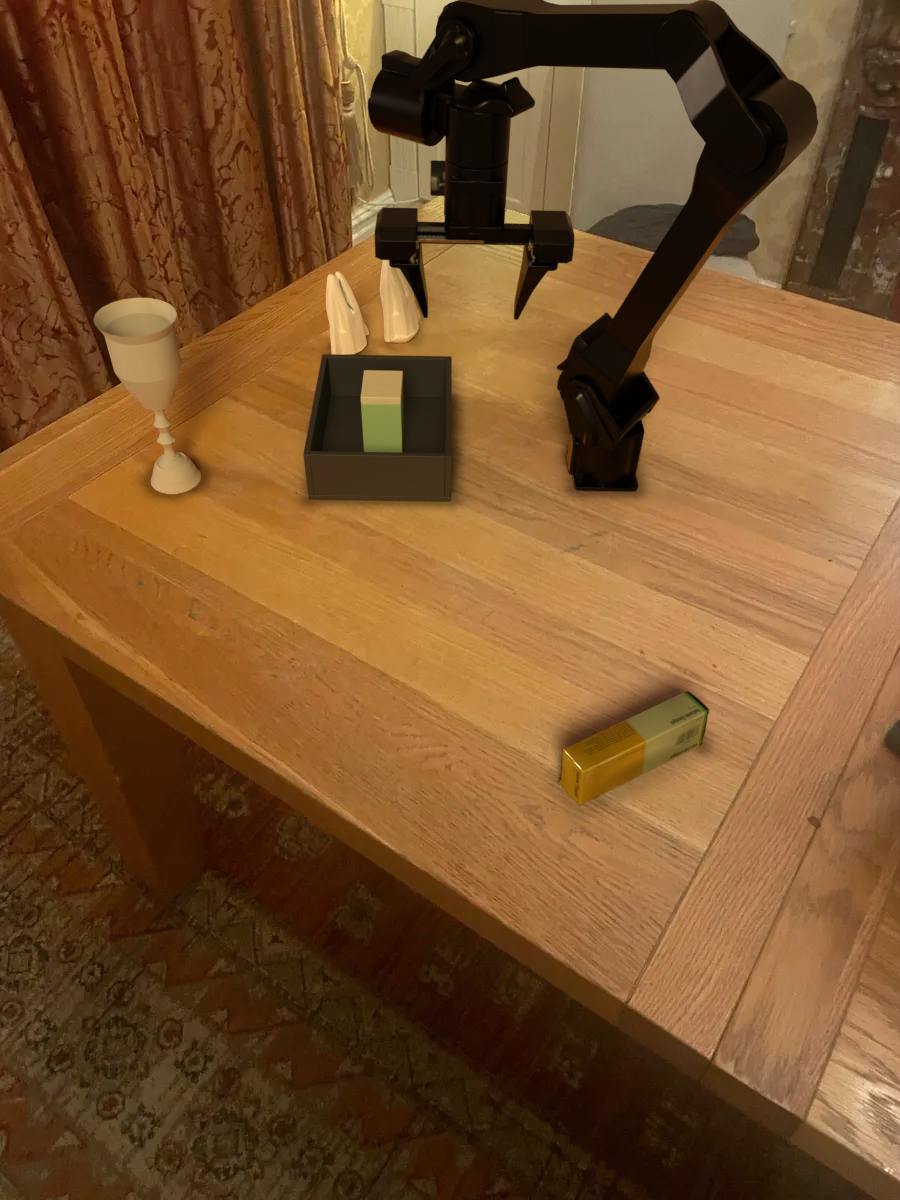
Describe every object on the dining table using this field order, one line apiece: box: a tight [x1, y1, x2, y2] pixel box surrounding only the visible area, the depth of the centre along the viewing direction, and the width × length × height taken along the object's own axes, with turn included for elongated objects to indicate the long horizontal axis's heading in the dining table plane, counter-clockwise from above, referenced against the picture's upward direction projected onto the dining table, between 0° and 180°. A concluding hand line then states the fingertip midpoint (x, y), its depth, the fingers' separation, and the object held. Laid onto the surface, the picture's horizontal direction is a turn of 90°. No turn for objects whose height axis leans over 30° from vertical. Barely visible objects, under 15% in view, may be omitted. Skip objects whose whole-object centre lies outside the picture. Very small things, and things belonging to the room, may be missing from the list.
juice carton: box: [361, 370, 404, 453], centre depth 94 cm, size 4×5×7 cm
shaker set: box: [325, 260, 421, 355], centre depth 108 cm, size 12×4×11 cm, turn 108°
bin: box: [302, 353, 453, 503], centre depth 95 cm, size 14×18×6 cm
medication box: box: [558, 690, 711, 806], centre depth 68 cm, size 12×3×4 cm, turn 119°
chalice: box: [93, 297, 202, 495], centre depth 86 cm, size 7×7×18 cm
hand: (470, 316), depth 93 cm, fingers open, 9 cm apart
